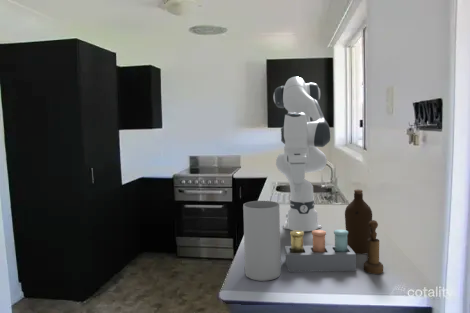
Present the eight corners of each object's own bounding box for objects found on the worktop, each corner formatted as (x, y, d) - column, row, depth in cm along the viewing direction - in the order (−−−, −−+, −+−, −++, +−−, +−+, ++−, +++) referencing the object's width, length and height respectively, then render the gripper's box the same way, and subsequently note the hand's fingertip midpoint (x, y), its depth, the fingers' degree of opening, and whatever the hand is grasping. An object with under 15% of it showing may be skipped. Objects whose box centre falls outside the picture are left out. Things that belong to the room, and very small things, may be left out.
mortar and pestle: (386, 269, 130) (386, 220, 129) (379, 275, 125) (379, 224, 124) (367, 265, 135) (367, 217, 133) (360, 271, 130) (360, 221, 128)
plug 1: (289, 250, 138) (289, 230, 138) (303, 250, 138) (302, 230, 137) (291, 255, 133) (290, 234, 133) (305, 255, 133) (304, 234, 132)
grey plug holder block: (285, 261, 141) (284, 246, 141) (348, 260, 140) (348, 245, 140) (288, 271, 131) (287, 255, 131) (356, 270, 130) (356, 254, 130)
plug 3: (332, 250, 138) (332, 229, 137) (346, 249, 137) (346, 229, 137) (335, 254, 133) (335, 233, 132) (349, 254, 132) (349, 233, 132)
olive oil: (377, 254, 146) (377, 191, 144) (351, 255, 145) (351, 193, 143) (365, 245, 157) (365, 187, 155) (340, 246, 156) (340, 188, 154)
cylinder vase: (260, 264, 138) (259, 199, 136) (287, 273, 130) (286, 203, 128) (237, 275, 130) (235, 205, 127) (265, 285, 121) (263, 210, 119)
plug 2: (311, 250, 138) (310, 230, 137) (324, 250, 138) (324, 229, 137) (313, 255, 133) (313, 234, 132) (327, 254, 133) (327, 233, 132)
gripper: (287, 155, 145) (288, 190, 146) (288, 158, 125) (289, 198, 126) (303, 154, 144) (304, 189, 145) (307, 158, 124) (308, 198, 125)
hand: (297, 194), depth 135 cm, fingers open, 8 cm apart
